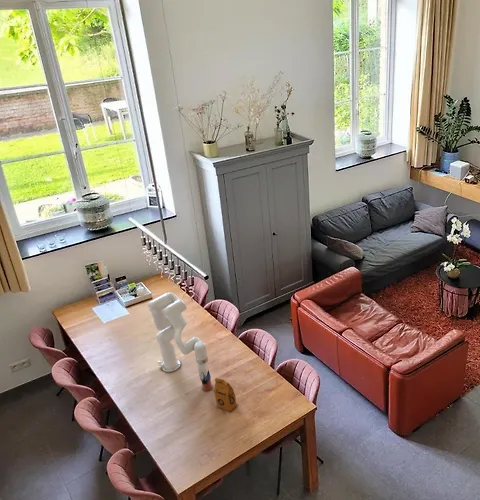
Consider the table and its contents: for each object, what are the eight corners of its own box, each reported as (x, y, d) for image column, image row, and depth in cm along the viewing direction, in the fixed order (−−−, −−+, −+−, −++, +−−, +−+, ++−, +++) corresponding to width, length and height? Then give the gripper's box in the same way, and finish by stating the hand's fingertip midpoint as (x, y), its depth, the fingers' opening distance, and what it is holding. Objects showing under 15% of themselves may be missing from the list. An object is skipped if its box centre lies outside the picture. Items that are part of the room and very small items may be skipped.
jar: (202, 391, 356) (200, 380, 352) (203, 384, 362) (201, 374, 357) (211, 390, 357) (209, 380, 352) (212, 384, 362) (210, 374, 357)
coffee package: (228, 414, 337) (224, 388, 327) (214, 407, 343) (210, 381, 333) (239, 404, 345) (235, 379, 334) (225, 397, 351) (221, 372, 340)
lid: (199, 382, 352) (199, 380, 351) (201, 375, 358) (201, 373, 357) (209, 381, 353) (209, 379, 352) (211, 375, 358) (211, 373, 358)
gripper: (199, 351, 355) (203, 371, 363) (193, 368, 339) (197, 388, 348) (210, 350, 355) (213, 370, 363) (205, 367, 340) (209, 388, 348)
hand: (206, 379), depth 355 cm, fingers open, 7 cm apart
